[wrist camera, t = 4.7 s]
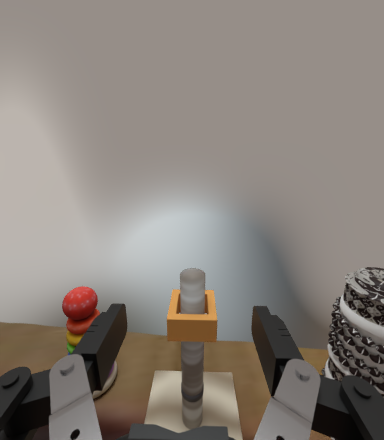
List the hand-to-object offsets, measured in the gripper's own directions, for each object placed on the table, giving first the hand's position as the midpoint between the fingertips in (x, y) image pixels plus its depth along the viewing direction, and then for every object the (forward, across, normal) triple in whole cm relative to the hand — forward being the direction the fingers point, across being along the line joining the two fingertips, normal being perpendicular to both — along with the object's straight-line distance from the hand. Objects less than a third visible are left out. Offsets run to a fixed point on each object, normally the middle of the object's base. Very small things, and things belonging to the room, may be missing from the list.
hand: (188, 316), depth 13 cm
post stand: (+11, 0, +29) cm, 31 cm away
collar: (+11, 0, +10) cm, 15 cm away
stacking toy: (+18, +18, +29) cm, 39 cm away
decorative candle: (+12, -24, +29) cm, 40 cm away
